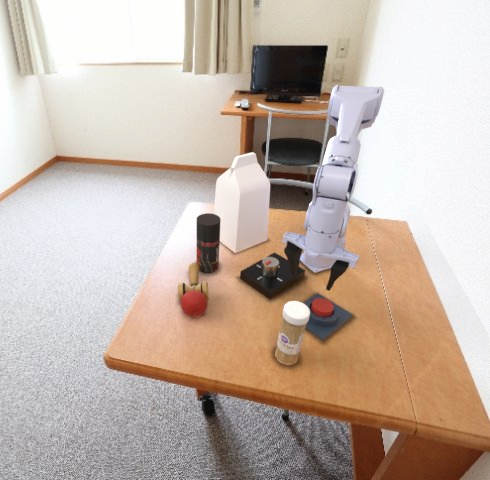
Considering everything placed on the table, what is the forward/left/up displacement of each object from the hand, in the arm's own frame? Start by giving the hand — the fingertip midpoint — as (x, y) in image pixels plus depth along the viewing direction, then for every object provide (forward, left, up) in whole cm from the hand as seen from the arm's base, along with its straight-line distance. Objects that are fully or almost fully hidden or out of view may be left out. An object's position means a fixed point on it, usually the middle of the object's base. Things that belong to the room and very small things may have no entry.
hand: (311, 280), depth 75 cm
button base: (-2, +3, -10) cm, 10 cm away
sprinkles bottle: (+11, +9, -10) cm, 17 cm away
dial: (+1, -13, -7) cm, 14 cm away
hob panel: (0, -13, -10) cm, 16 cm away
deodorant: (+13, -24, -10) cm, 29 cm away
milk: (-2, -33, -10) cm, 34 cm away
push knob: (-2, +3, -7) cm, 8 cm away
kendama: (+21, -15, -10) cm, 28 cm away
